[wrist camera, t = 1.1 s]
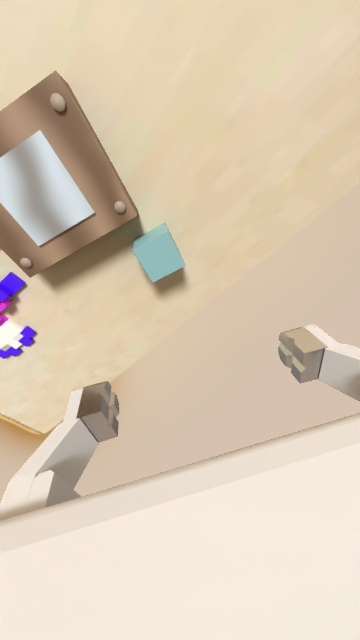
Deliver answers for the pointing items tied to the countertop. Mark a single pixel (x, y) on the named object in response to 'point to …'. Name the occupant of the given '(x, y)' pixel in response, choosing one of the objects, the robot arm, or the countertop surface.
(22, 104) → the plinth
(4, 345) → the building block set
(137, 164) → the countertop surface
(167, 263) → the teal block
